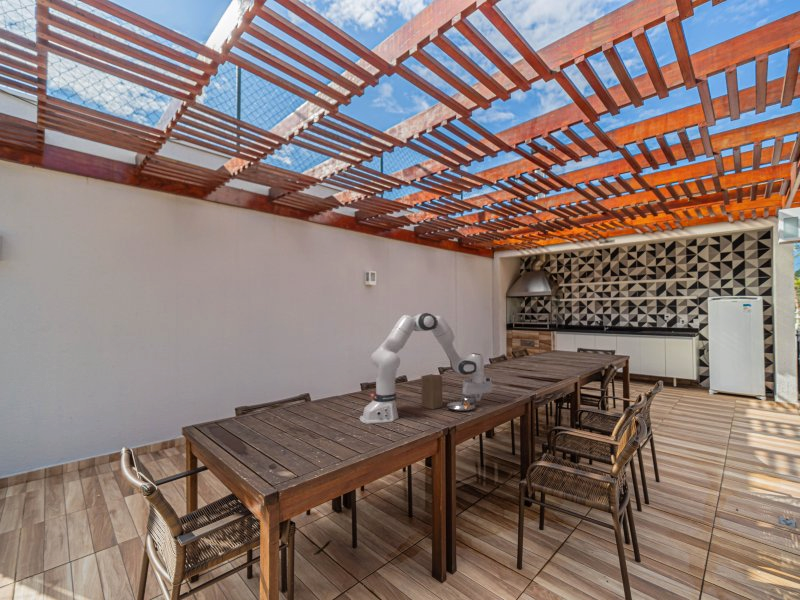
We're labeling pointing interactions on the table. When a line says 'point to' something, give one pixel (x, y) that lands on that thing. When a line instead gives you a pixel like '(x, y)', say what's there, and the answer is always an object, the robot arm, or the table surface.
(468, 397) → the cast cover
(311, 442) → the table surface
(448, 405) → the turntable
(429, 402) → the wooden block
